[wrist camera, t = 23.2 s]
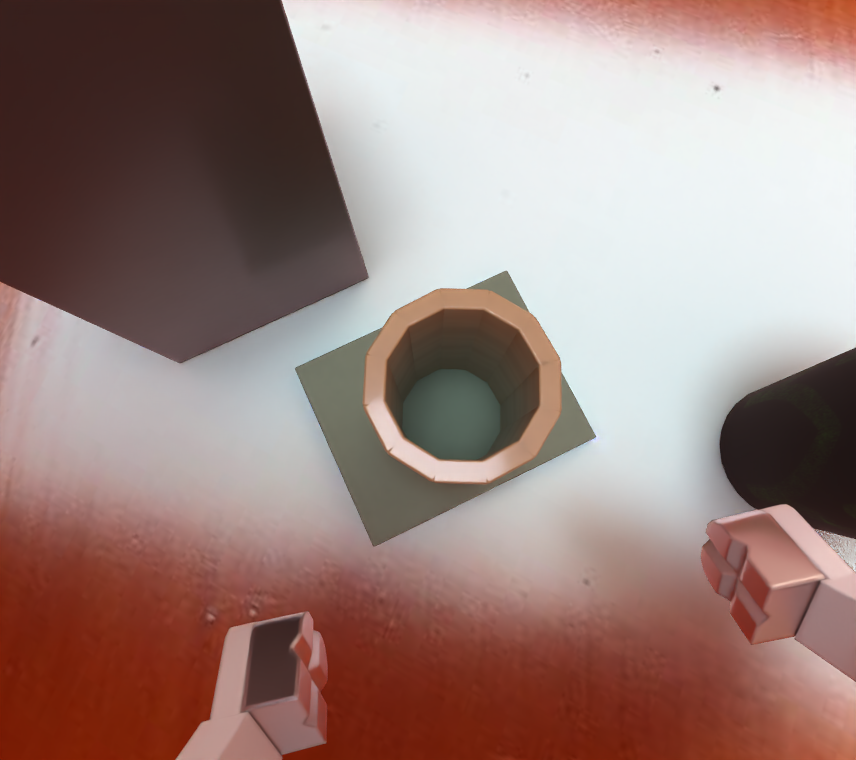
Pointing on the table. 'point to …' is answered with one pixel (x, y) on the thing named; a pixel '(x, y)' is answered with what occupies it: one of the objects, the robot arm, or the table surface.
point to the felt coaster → (419, 431)
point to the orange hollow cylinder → (480, 355)
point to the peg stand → (166, 169)
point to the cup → (799, 445)
